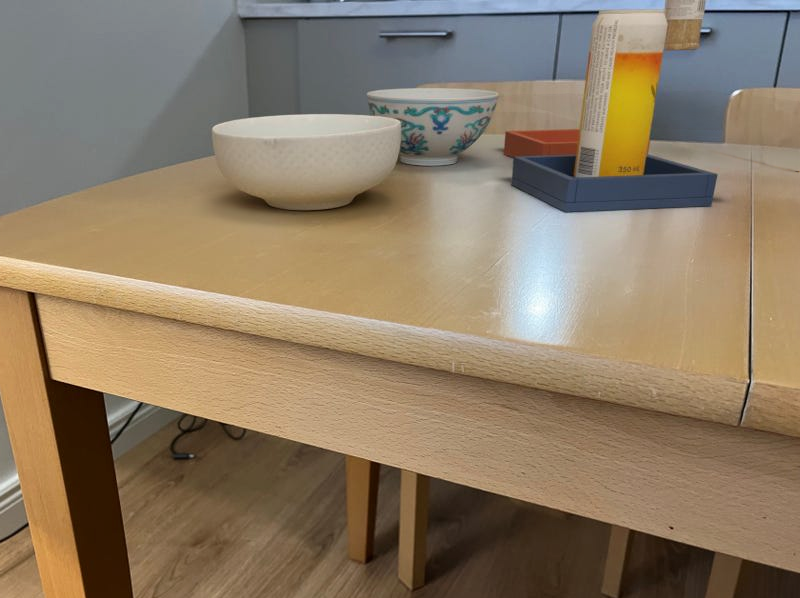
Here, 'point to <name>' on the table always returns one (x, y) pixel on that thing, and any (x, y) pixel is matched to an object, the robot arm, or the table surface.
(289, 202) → the cereal bowl
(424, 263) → the table surface
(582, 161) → the beer can
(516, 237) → the table surface
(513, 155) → the terracotta tray
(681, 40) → the sprinkles bottle
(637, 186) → the blue tray
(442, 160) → the chinaware
